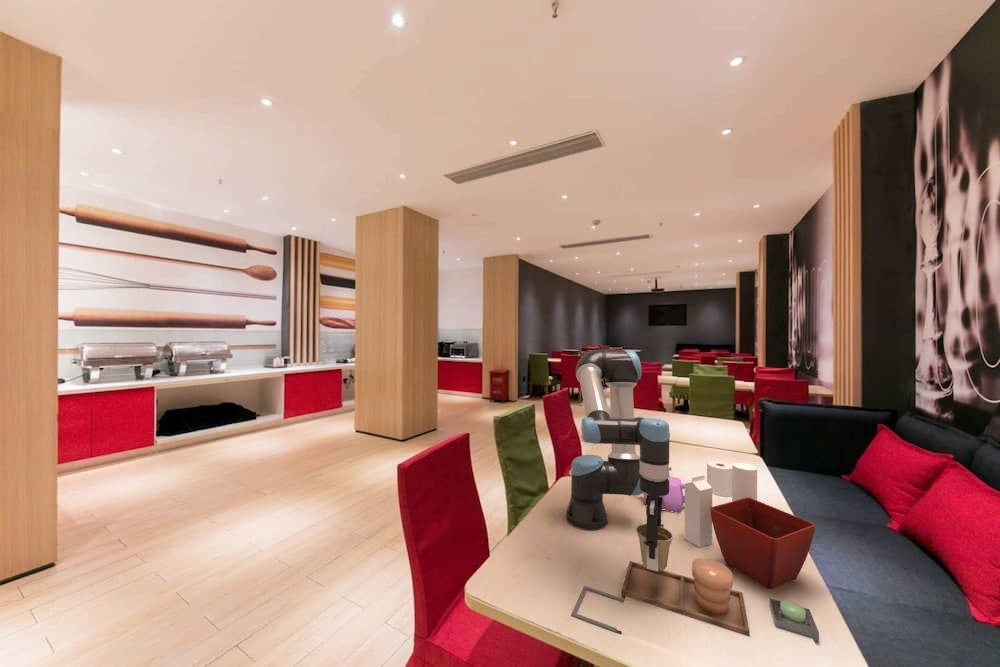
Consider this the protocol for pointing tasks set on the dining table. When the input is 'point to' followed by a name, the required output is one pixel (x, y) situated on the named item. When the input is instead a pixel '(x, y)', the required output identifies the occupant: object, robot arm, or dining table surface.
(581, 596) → the square
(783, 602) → the green soap bar
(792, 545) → the plant pot
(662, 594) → the brown divided tray
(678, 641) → the dining table surface
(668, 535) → the flower pot
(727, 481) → the toilet paper
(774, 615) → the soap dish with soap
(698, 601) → the stacked pebble cairn
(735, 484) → the cylindrical container
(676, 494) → the teakettle
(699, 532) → the milk
